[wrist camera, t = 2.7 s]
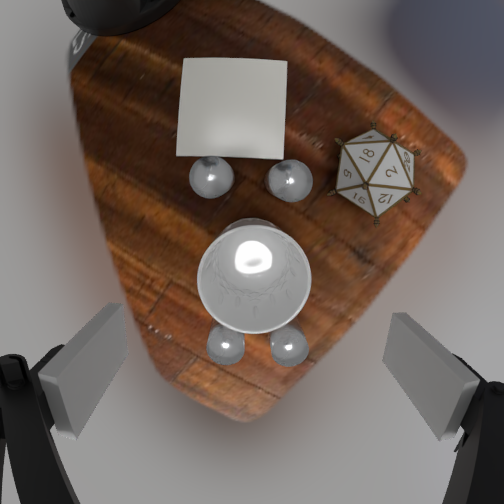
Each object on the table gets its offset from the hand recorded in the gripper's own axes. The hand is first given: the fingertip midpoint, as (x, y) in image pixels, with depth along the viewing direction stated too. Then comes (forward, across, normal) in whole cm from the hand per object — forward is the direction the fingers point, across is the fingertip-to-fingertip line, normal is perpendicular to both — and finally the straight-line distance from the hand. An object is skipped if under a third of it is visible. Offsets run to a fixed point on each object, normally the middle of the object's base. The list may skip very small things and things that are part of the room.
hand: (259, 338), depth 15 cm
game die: (+18, +10, +9) cm, 23 cm away
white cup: (+18, 0, 0) cm, 18 cm away
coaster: (+18, -2, +14) cm, 23 cm away
